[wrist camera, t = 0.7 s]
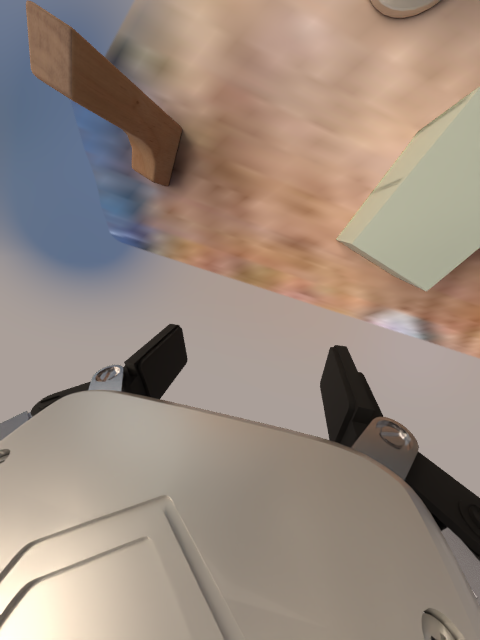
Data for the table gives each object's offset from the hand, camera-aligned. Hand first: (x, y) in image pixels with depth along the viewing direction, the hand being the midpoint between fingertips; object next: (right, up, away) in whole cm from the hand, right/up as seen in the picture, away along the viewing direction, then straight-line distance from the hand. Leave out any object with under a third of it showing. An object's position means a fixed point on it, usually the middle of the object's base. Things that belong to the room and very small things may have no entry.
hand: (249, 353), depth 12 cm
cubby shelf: (+25, +19, +17) cm, 36 cm away
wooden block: (-14, +32, +21) cm, 41 cm away
